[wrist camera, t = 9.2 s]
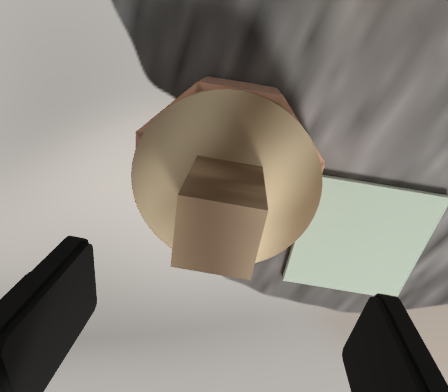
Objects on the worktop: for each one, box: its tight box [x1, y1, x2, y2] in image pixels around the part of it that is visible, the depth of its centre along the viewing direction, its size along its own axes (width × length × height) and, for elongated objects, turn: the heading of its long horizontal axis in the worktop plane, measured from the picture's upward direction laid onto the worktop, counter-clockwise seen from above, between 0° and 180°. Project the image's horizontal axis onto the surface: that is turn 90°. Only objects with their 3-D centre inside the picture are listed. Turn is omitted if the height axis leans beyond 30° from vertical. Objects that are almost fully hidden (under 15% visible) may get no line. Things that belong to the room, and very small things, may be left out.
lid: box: [131, 88, 322, 280], centre depth 17 cm, size 12×12×6 cm
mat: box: [283, 174, 448, 297], centre depth 26 cm, size 11×11×1 cm
